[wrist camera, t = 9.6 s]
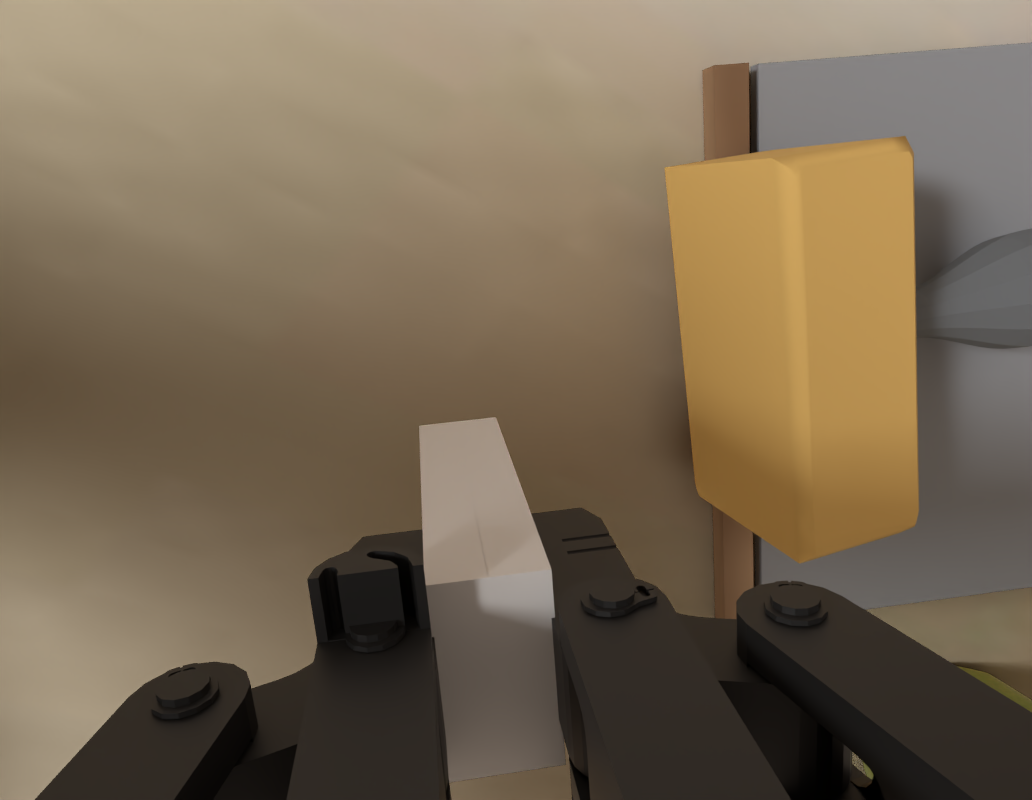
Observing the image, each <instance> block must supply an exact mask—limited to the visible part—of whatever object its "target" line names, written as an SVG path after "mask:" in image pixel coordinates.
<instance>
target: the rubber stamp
mask: <svg viewBox="0 0 1032 800" xmlns="http://www.w3.org/2000/svg"><path fill="white" fill-rule="evenodd" d="M665 177H666V187H667V197H668V208H669V218H670V228H671V239H672V249H673V259H674V270H675V280H676V290H677V301H678V311H679V321H680V332H681V342H682V352H683V363H684V373H685V383H686V394H687V404H688V414H689V425H690V435H691V445H692V455H693V466H694V476H695V485H696V488H697V491H698V494H699V496H700V497H702V498H703V499H705V500H706V501H708V502H709V503H710V504H712V505H713V506H715V507H716V508H718V509H719V510H721V511H722V512H724V513H725V514H727V515H728V516H730V517H731V518H733V519H734V520H736V521H737V522H739V523H740V524H742V525H743V526H744V527H746V528H747V529H749V530H750V531H752V532H753V533H755V534H756V535H758V536H759V537H761V538H762V539H764V540H765V541H767V542H768V543H770V544H771V545H773V546H774V547H776V548H777V549H779V550H780V551H781V552H783V553H784V554H786V555H787V556H789V557H790V558H792V559H793V560H795V561H796V562H798V563H799V564H800V563H804V562H807V561H810V560H813V559H817V558H820V557H823V556H826V555H830V554H833V553H836V552H839V551H842V550H846V549H849V548H852V547H855V546H859V545H862V544H865V543H868V542H872V541H875V540H878V539H881V538H885V537H888V536H891V535H894V534H898V533H900V532H903V531H905V530H908V529H910V528H912V527H915V524H916V521H917V517H918V512H919V472H918V403H917V337H923V338H935V339H943V340H948V341H953V342H958V343H963V344H968V345H973V346H978V347H985V348H995V349H1008V348H1018V347H1027V346H1032V228H1031V229H1026V230H1021V231H1017V232H1014V233H1010V234H1006V235H1003V236H999V237H995V238H992V239H990V240H987V241H984V242H982V243H980V244H978V245H976V246H974V247H973V248H971V249H969V250H968V251H966V252H965V253H963V254H962V255H960V256H959V257H958V258H956V259H955V260H954V261H953V262H951V263H950V264H949V265H947V266H946V267H945V268H944V269H942V270H941V271H940V272H938V273H937V274H936V275H934V276H933V277H932V278H930V279H929V280H928V281H926V282H925V283H923V284H922V285H920V286H919V287H917V288H916V266H915V198H914V152H913V150H912V148H911V146H910V144H909V142H908V140H907V138H906V136H900V137H891V138H881V139H872V140H862V141H853V142H843V143H834V144H824V145H815V146H805V147H795V148H786V149H776V150H769V151H761V152H755V153H749V154H743V155H737V156H731V157H725V158H719V159H713V160H707V161H701V162H695V163H689V164H683V165H677V166H671V167H665Z"/></svg>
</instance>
